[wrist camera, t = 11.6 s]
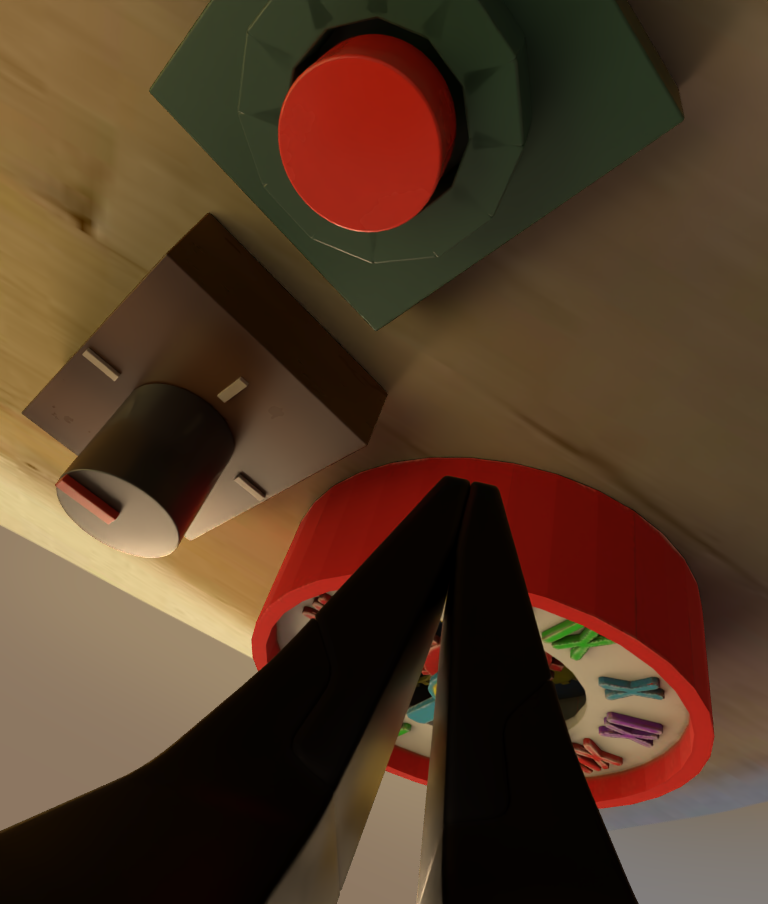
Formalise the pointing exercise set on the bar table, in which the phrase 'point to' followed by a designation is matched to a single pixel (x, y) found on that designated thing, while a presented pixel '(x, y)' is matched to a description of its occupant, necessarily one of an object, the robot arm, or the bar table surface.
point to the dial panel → (221, 371)
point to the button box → (477, 121)
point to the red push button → (367, 132)
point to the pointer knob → (147, 471)
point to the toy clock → (539, 616)
